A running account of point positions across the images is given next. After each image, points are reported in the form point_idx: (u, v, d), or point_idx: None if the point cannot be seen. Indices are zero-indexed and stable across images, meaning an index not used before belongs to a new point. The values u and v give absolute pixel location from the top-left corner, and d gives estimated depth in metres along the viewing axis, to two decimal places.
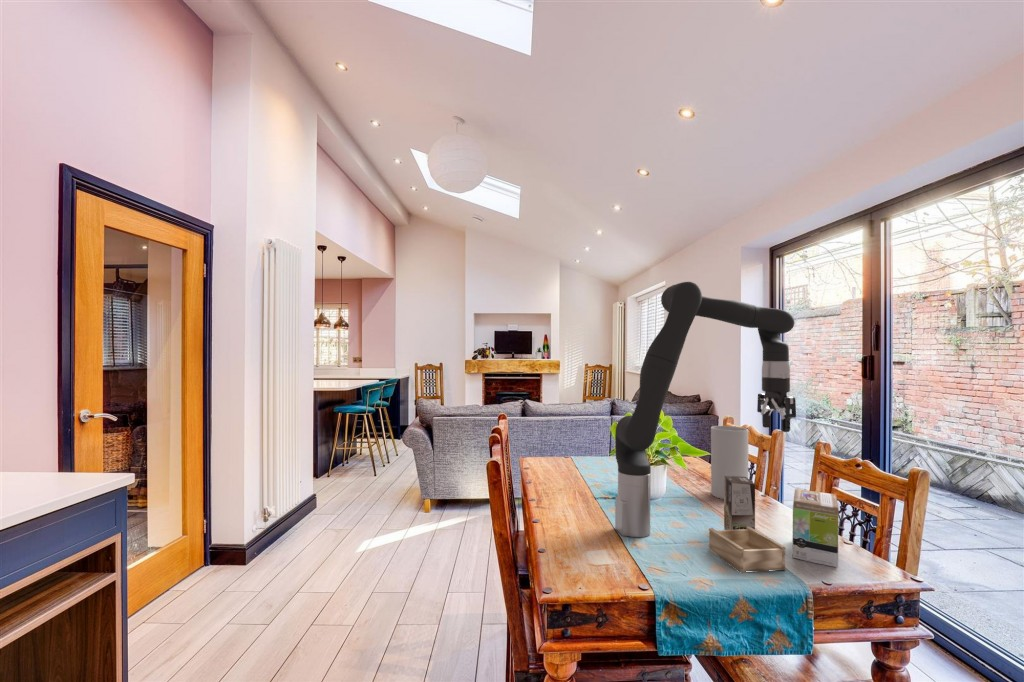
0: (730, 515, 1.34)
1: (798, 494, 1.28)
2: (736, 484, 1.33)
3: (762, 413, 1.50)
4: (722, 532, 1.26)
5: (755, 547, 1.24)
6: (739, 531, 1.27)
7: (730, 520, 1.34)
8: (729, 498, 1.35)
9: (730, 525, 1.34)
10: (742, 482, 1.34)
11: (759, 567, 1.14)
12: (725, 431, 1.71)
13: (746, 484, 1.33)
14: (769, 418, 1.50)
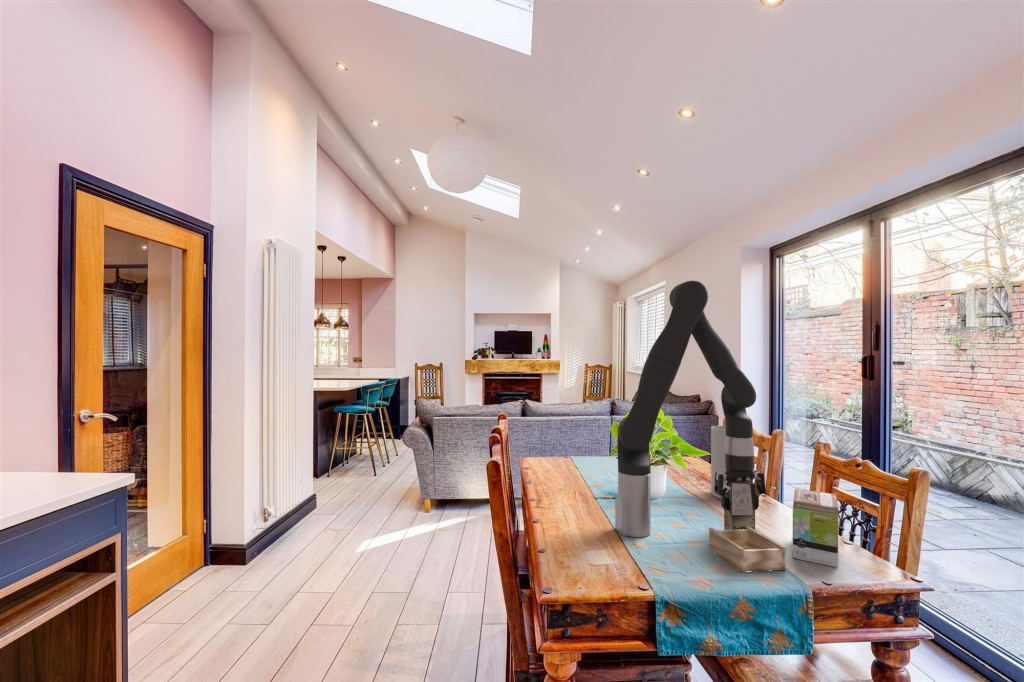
0: (730, 515, 1.34)
1: (798, 494, 1.28)
2: (736, 484, 1.33)
3: (727, 495, 1.35)
4: (722, 532, 1.26)
5: (755, 547, 1.24)
6: (739, 531, 1.27)
7: (730, 520, 1.34)
8: (729, 498, 1.35)
9: (730, 525, 1.34)
10: (742, 482, 1.34)
11: (759, 567, 1.14)
12: (725, 431, 1.71)
13: (746, 484, 1.33)
14: None
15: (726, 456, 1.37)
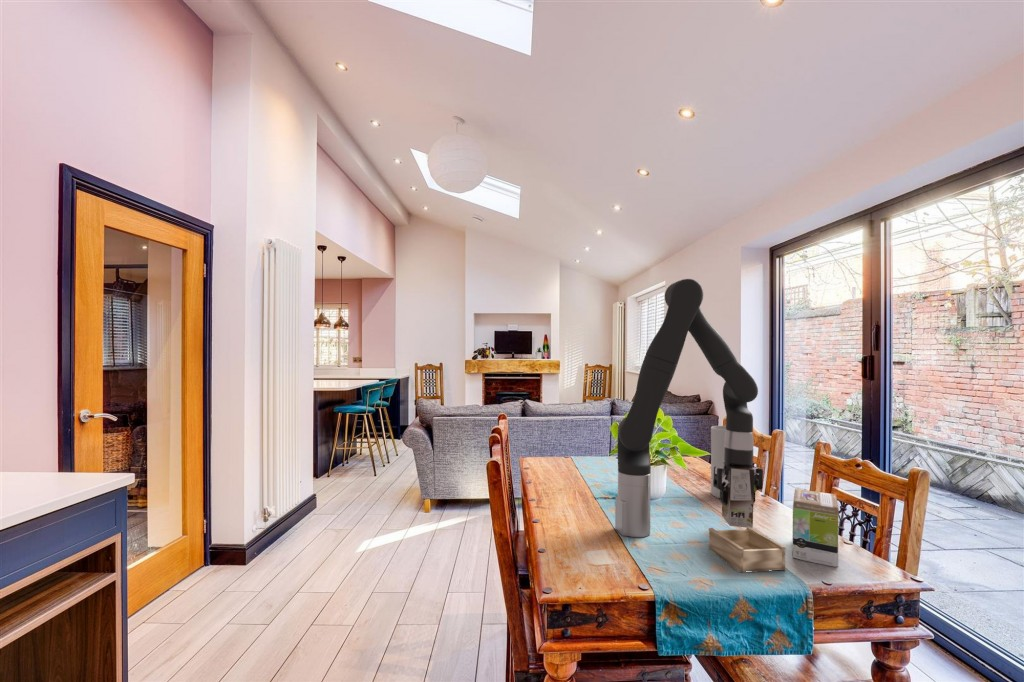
0: (729, 500, 1.34)
1: (798, 494, 1.28)
2: (735, 469, 1.33)
3: (726, 490, 1.35)
4: (722, 532, 1.26)
5: (755, 547, 1.24)
6: (739, 531, 1.27)
7: (728, 505, 1.34)
8: (728, 484, 1.35)
9: (728, 510, 1.34)
10: (741, 468, 1.34)
11: (759, 567, 1.14)
12: (725, 431, 1.71)
13: (745, 470, 1.33)
14: None
15: (725, 450, 1.37)
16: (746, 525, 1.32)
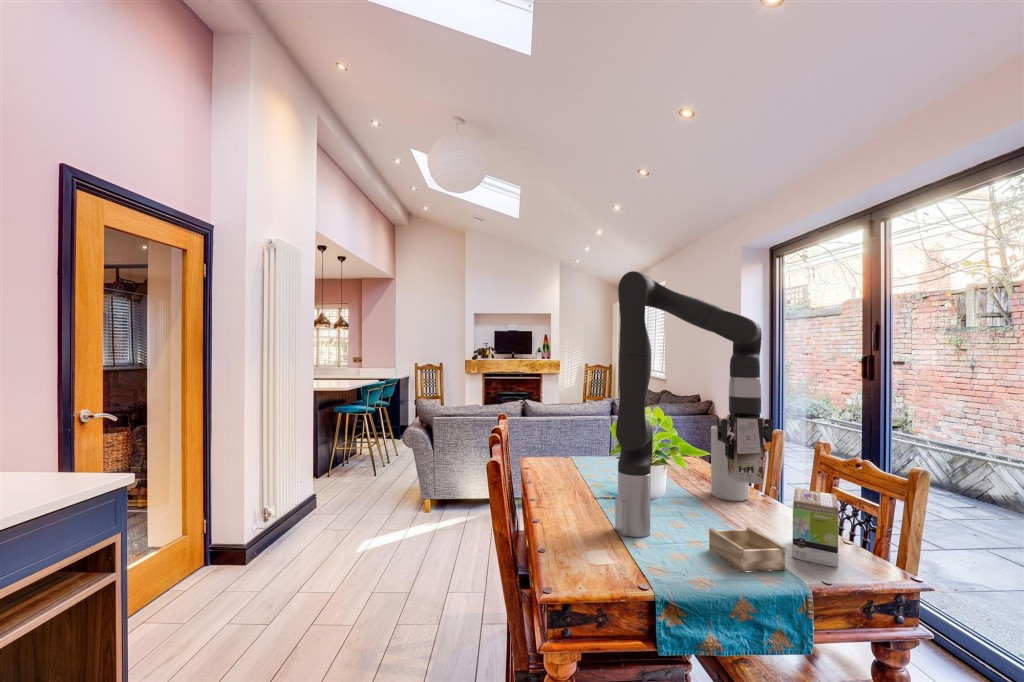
0: (735, 454, 1.20)
1: (798, 494, 1.28)
2: (742, 419, 1.19)
3: (732, 443, 1.21)
4: (722, 532, 1.26)
5: (755, 547, 1.24)
6: (739, 531, 1.27)
7: (735, 460, 1.20)
8: (734, 436, 1.21)
9: (735, 465, 1.20)
10: (748, 417, 1.20)
11: (759, 567, 1.14)
12: None
13: (753, 419, 1.19)
14: None
15: (730, 399, 1.23)
16: (756, 481, 1.18)
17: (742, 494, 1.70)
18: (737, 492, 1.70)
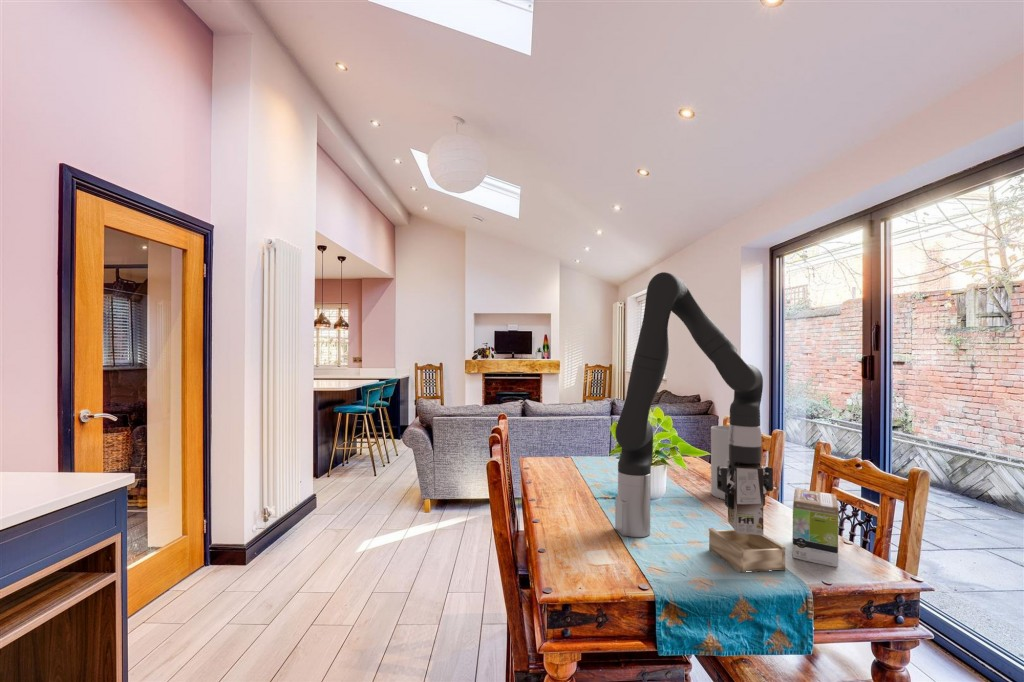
0: (735, 504, 1.18)
1: (798, 494, 1.28)
2: (742, 469, 1.17)
3: (732, 492, 1.19)
4: (722, 532, 1.26)
5: (755, 547, 1.24)
6: None
7: (735, 510, 1.18)
8: (734, 485, 1.19)
9: (735, 516, 1.18)
10: (748, 467, 1.18)
11: (759, 567, 1.14)
12: (725, 431, 1.71)
13: (753, 469, 1.17)
14: None
15: (730, 447, 1.21)
16: (756, 532, 1.16)
17: None
18: None
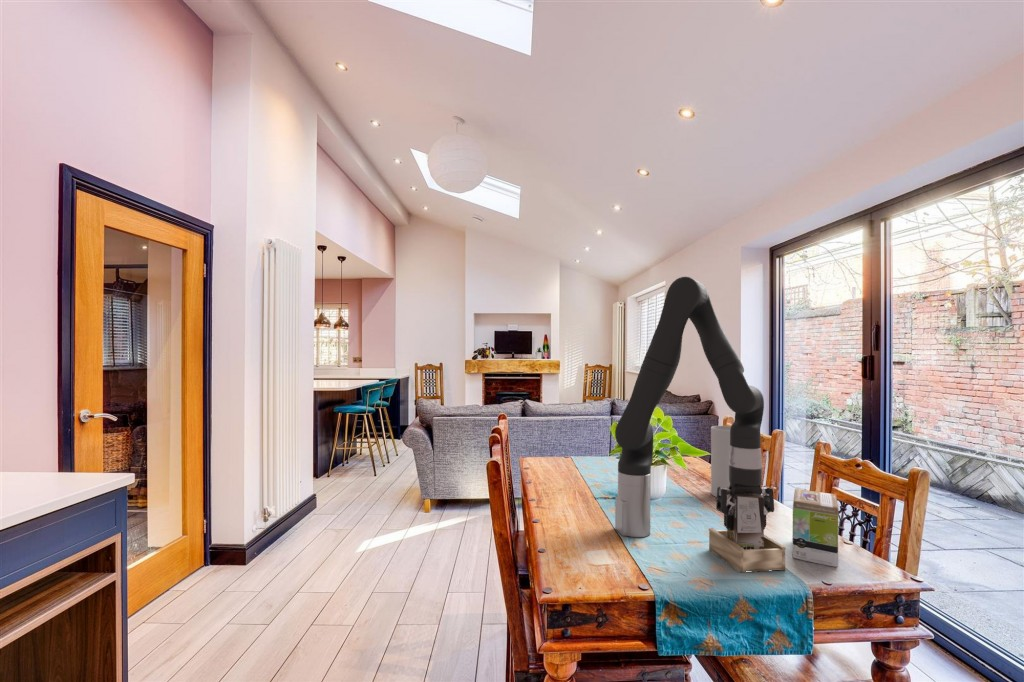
0: (735, 533, 1.18)
1: (798, 494, 1.28)
2: (742, 498, 1.17)
3: (731, 513, 1.19)
4: (722, 532, 1.26)
5: None
6: None
7: (735, 538, 1.18)
8: (734, 513, 1.19)
9: None
10: (749, 495, 1.18)
11: (759, 567, 1.14)
12: (725, 431, 1.71)
13: (754, 498, 1.17)
14: None
15: (730, 469, 1.21)
16: None
17: None
18: None
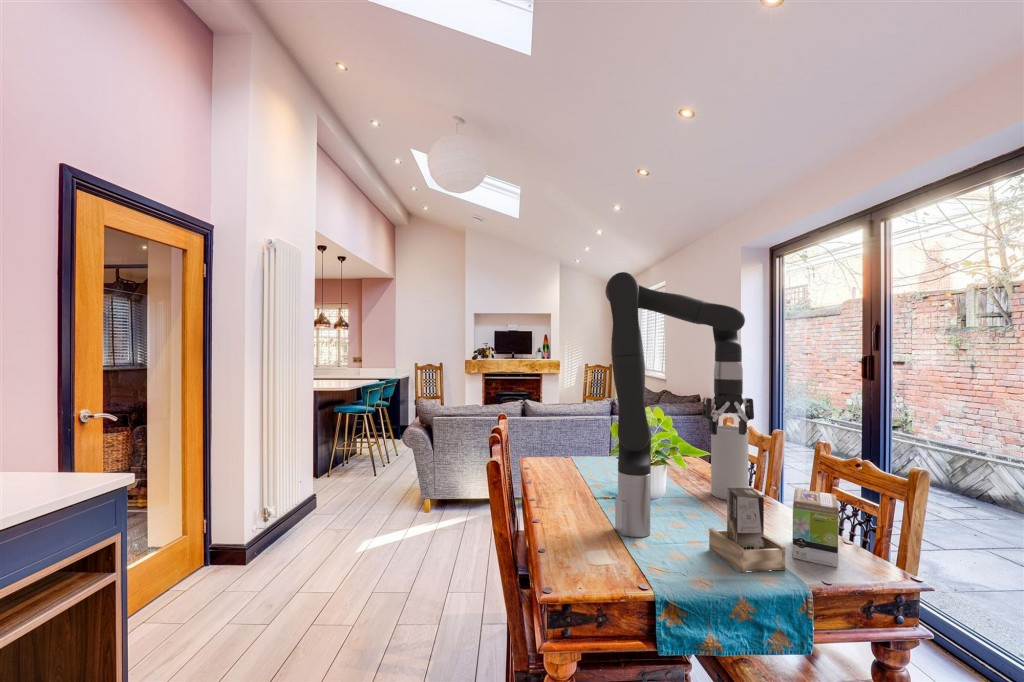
0: (735, 533, 1.18)
1: (798, 494, 1.28)
2: (742, 498, 1.17)
3: (715, 419, 1.35)
4: (722, 532, 1.26)
5: None
6: None
7: (735, 538, 1.18)
8: (734, 513, 1.19)
9: None
10: (749, 495, 1.18)
11: (759, 567, 1.14)
12: (725, 431, 1.71)
13: (754, 498, 1.17)
14: None
15: (715, 381, 1.37)
16: None
17: None
18: None
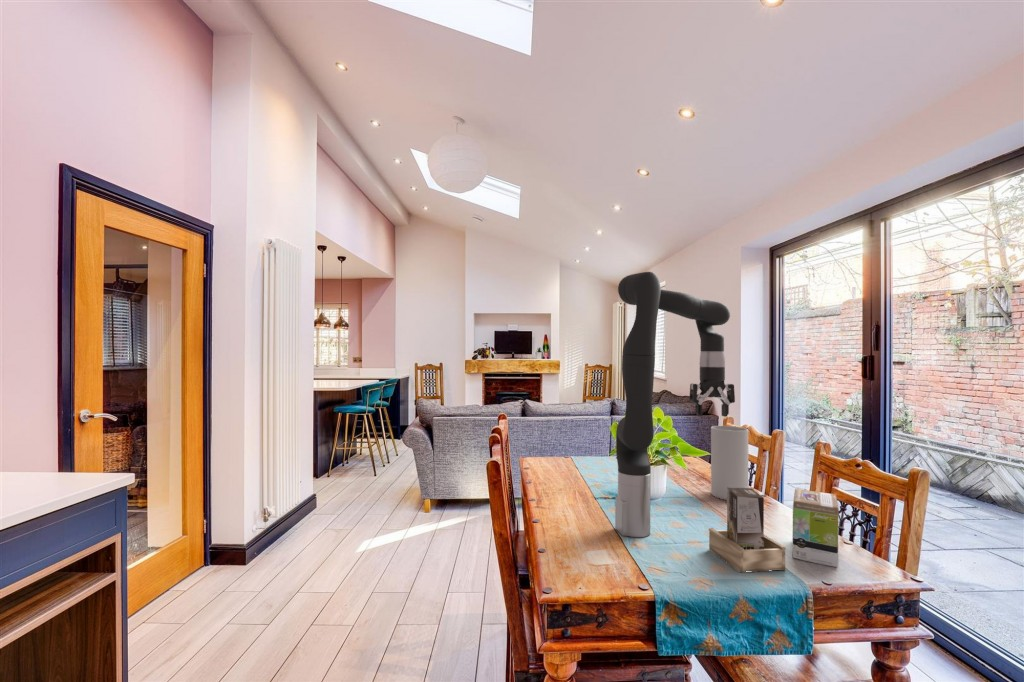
0: (735, 533, 1.18)
1: (798, 494, 1.28)
2: (742, 498, 1.17)
3: (700, 403, 1.52)
4: (722, 532, 1.26)
5: None
6: None
7: (735, 538, 1.18)
8: (734, 513, 1.19)
9: None
10: (749, 495, 1.18)
11: (759, 567, 1.14)
12: (725, 431, 1.71)
13: (754, 498, 1.17)
14: None
15: (700, 369, 1.54)
16: None
17: None
18: None
